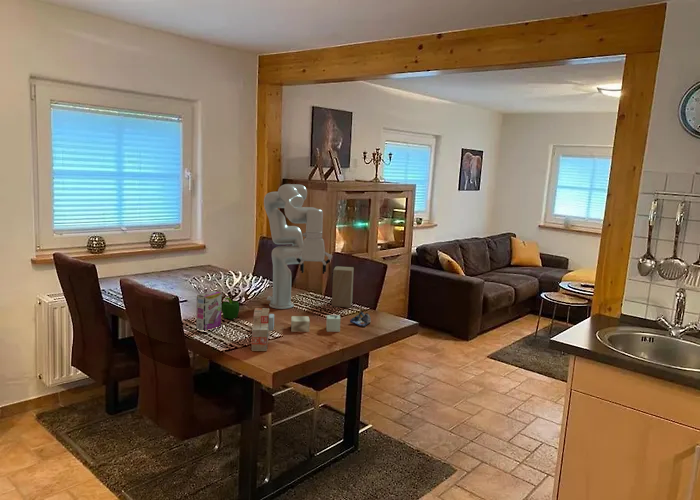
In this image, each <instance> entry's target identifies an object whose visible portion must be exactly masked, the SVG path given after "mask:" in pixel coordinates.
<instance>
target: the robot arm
mask: <svg viewBox="0 0 700 500" xmlns="http://www.w3.org/2000/svg"><path fill="white" fill-rule="evenodd" d="M307 196H308V190H307V188H306V186H304V185H303V184H298V183H296V184H295V183H292V184H291V183H285V184H282V185H281V186H279V187H278V189H277V191H271V192H268V193H266V194H265V196H264V197H263V198H264V199H263V206H264V210H265V214H266V215H267V219H268V222H269V228H270V234H271V240H272V242H273V243H274V244H275V245H279V246H276V247H274V248H273V249H272V250H271V260H272V261H271V262H272V296H271V295H268V296H267V297H266V301H270V303H269V307H270V308H273V309H277V310H287V309H291V308H293V307H294V306H295V304H294V303H293V302H292V301H291V300H292V271H291V269H290V268H289V267H288V265H300V266H299V267H300V268H299V271H300V272H301V274H304V272H305V270H304V269H305V264H304V262H320V263H322V272H321V273H322V274H325V272H327V265H328V264H329V263H330V262H331V260H332V258H333V254H330V253H328V252H326V249H325V240H324V239H323V227H324V226H323V224H324V221H323V220H324V212H323V210H322V209H320V208H316V207H313V206H311V207H310V206H303V205H304V201H305V200H307ZM280 209H284V213H283V212H282V211H281V210H280ZM284 214H285V215H284ZM286 218H287V219H288V220H289V222H291V223H292V224H305V232H303V233H302V230H301V229H300V227H299V226H296V225H288V224H287V221H286ZM304 237H305V238H304ZM281 245H282V246H281ZM325 257H328V258H327V260H325Z"/></svg>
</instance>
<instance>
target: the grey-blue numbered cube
mask: <svg viewBox="0 0 700 500" xmlns="http://www.w3.org/2000/svg"><path fill="white" fill-rule="evenodd" d="M274 327H275V314H274V313H269V331H274Z"/></svg>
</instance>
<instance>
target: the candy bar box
mask: <svg viewBox="0 0 700 500" xmlns="http://www.w3.org/2000/svg"><path fill="white" fill-rule="evenodd" d="M222 293H223V292H220V291H217V290H212V291H209V292H204V293H199V294H197V295H196V316H195V317H196V320H195V321H196V322H195V323H196V324H195V325H196V327H195V328H196V329H199V330H204V331H205V330H208V329H212V328H215V327H219V326H221V327H222V300H223V299H222V297H223V296H222V295H223V294H222Z"/></svg>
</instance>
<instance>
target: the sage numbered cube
mask: <svg viewBox="0 0 700 500" xmlns="http://www.w3.org/2000/svg"><path fill="white" fill-rule="evenodd" d="M325 325H326V328H325V329H326V332H327V333H329V332H333V333H334V332H335V333H338V332H339V333H340V332H341V315H340V314H337V315H336V314H335V315H334V314H332V315H331V314H326V323H325Z"/></svg>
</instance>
